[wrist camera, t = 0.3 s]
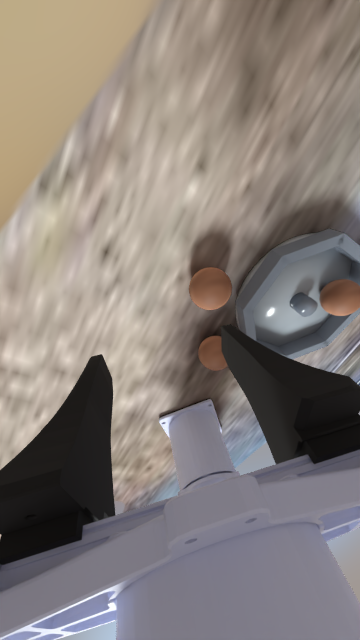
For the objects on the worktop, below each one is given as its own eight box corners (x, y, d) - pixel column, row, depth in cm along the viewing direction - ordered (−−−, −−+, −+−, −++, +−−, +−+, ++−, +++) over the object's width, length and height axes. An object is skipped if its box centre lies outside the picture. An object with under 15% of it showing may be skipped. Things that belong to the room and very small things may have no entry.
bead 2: (227, 347, 28) (241, 370, 25) (198, 358, 28) (208, 382, 25) (222, 324, 26) (236, 345, 23) (190, 336, 26) (200, 359, 23)
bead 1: (225, 289, 24) (241, 308, 21) (190, 302, 24) (201, 323, 20) (218, 255, 21) (235, 270, 18) (180, 269, 21) (190, 287, 18)
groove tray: (341, 322, 30) (358, 334, 28) (242, 360, 30) (251, 374, 28) (362, 212, 22) (388, 217, 20) (226, 262, 22) (237, 272, 20)
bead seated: (340, 297, 27) (369, 315, 24) (310, 309, 27) (335, 328, 24) (345, 268, 25) (378, 283, 22) (312, 280, 24) (340, 297, 21)
